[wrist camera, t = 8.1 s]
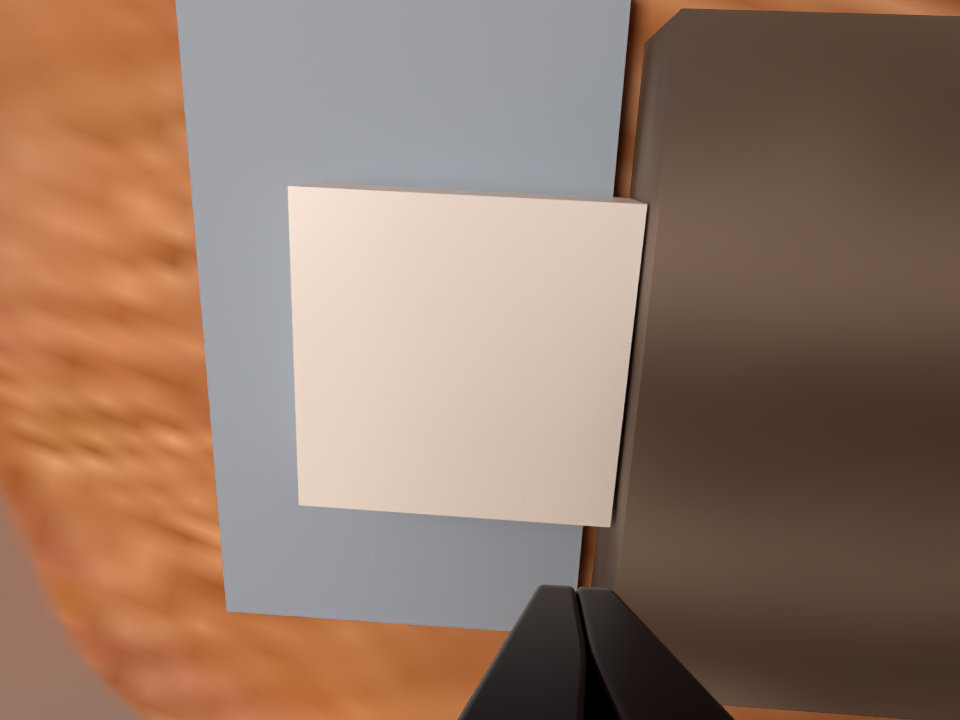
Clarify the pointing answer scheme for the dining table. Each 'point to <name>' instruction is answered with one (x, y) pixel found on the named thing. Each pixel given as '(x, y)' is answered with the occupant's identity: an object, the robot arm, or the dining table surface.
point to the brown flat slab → (797, 362)
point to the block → (461, 349)
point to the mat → (371, 161)
